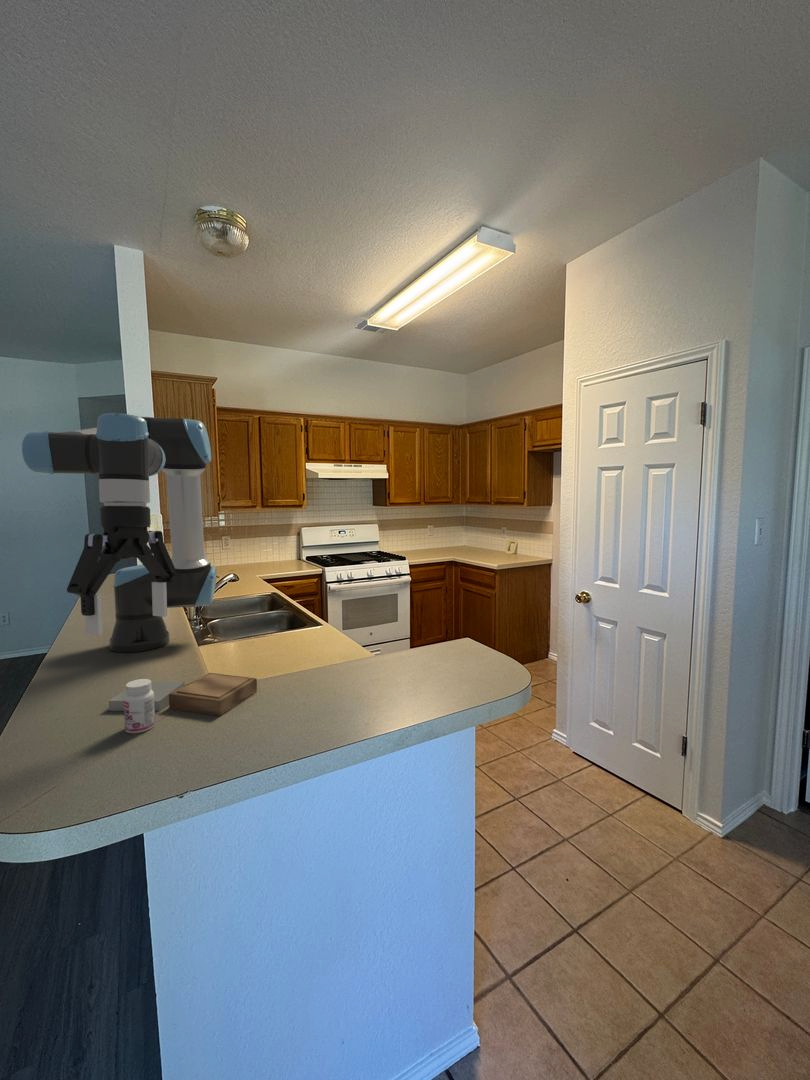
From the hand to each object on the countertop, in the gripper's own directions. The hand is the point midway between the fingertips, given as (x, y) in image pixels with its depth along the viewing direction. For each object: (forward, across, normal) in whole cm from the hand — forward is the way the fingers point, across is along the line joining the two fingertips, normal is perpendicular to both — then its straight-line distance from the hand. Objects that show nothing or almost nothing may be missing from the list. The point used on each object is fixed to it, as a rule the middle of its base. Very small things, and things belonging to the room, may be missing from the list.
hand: (129, 624), depth 81 cm
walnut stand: (+19, -15, +6) cm, 25 cm away
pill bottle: (+19, -1, +1) cm, 19 cm away
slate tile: (+19, -11, -7) cm, 23 cm away
